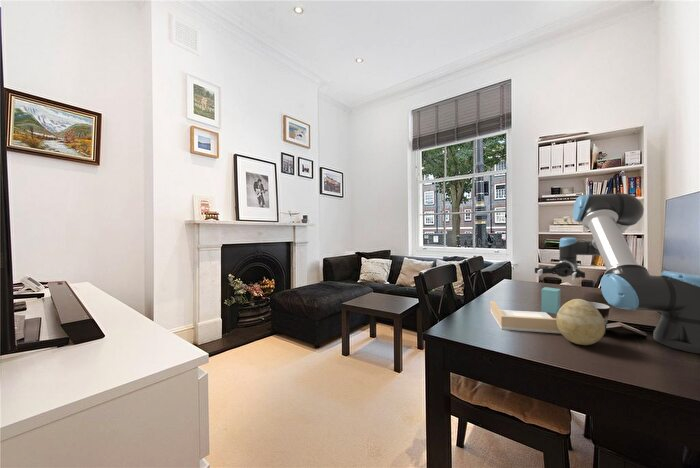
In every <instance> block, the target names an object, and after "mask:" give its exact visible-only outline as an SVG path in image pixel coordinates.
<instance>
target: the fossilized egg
mask: <svg viewBox="0 0 700 468" xmlns="http://www.w3.org/2000/svg"><path fill="white" fill-rule="evenodd" d="M589 302H590V301H587V300H585V299H582V298H573V299H571V300H568V301H567V302H565V303H564V304H563V305H562V306H560V309H559V311H558V313H557V314H556V316H555V318H556V323H557V327H558V329H559V331H560V332H561V333H560V334H561V335H562V336H563V337H564V338H565V339H566V340H568V341H569V342H571V343H573V344H576V345H582V346H590V345H594V344H596V343H598V342H599V341H600V340H601V339H602V338H603V337H604V332H605V322H604V319H603V317H602V315H601V314H600V312H599V311H598V310H597V309H596V307H595V306H593V305H592V304H591V303H589Z"/></svg>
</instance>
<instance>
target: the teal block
mask: <svg viewBox="0 0 700 468" xmlns="http://www.w3.org/2000/svg"><path fill="white" fill-rule="evenodd" d="M540 292H541V295H540V296H541V297H540V299H541V306H540V307H541V310H540V312H546V313H550V314H555V315H557V313H558V311H559V309H560V308H561V288H554V287H547V286H544V287H543V288H541V291H540Z"/></svg>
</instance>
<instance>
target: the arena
mask: <svg viewBox="0 0 700 468" xmlns="http://www.w3.org/2000/svg"><path fill="white" fill-rule="evenodd" d="M489 303H490V313H491V315H492V316H493V318H494V320H495V321H496V322H497V324H498V326H499V327H500V329H501V330H504V331H505V330H506V331H519V332H533V333H534V332H535V333H537V332H538V333H550V334H561V332H560V331H559V329H558V327H557V323H556V317H552V316H551V315H550V314H548V312H543V311H528V310H527V311H525V310H510V309H509V310H508V309H501V308H500V307H499V305H498V304H497V303H496V301H495V300H490V302H489Z"/></svg>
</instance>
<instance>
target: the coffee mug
mask: <svg viewBox="0 0 700 468" xmlns="http://www.w3.org/2000/svg"><path fill="white" fill-rule="evenodd" d="M588 302H589V303H591V304H592V305H593V306H595V307H596V309H597V310H598V311H599V312H600V314H601V315H602V317H603V319H604V322H605V332H604V335H606V331H607V325H608V319H609V314H610V310H611V309H610V307H611V306H609V304H608V305H607V304H605V303H600V302H594V301H588ZM604 335H603V336H604Z"/></svg>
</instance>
